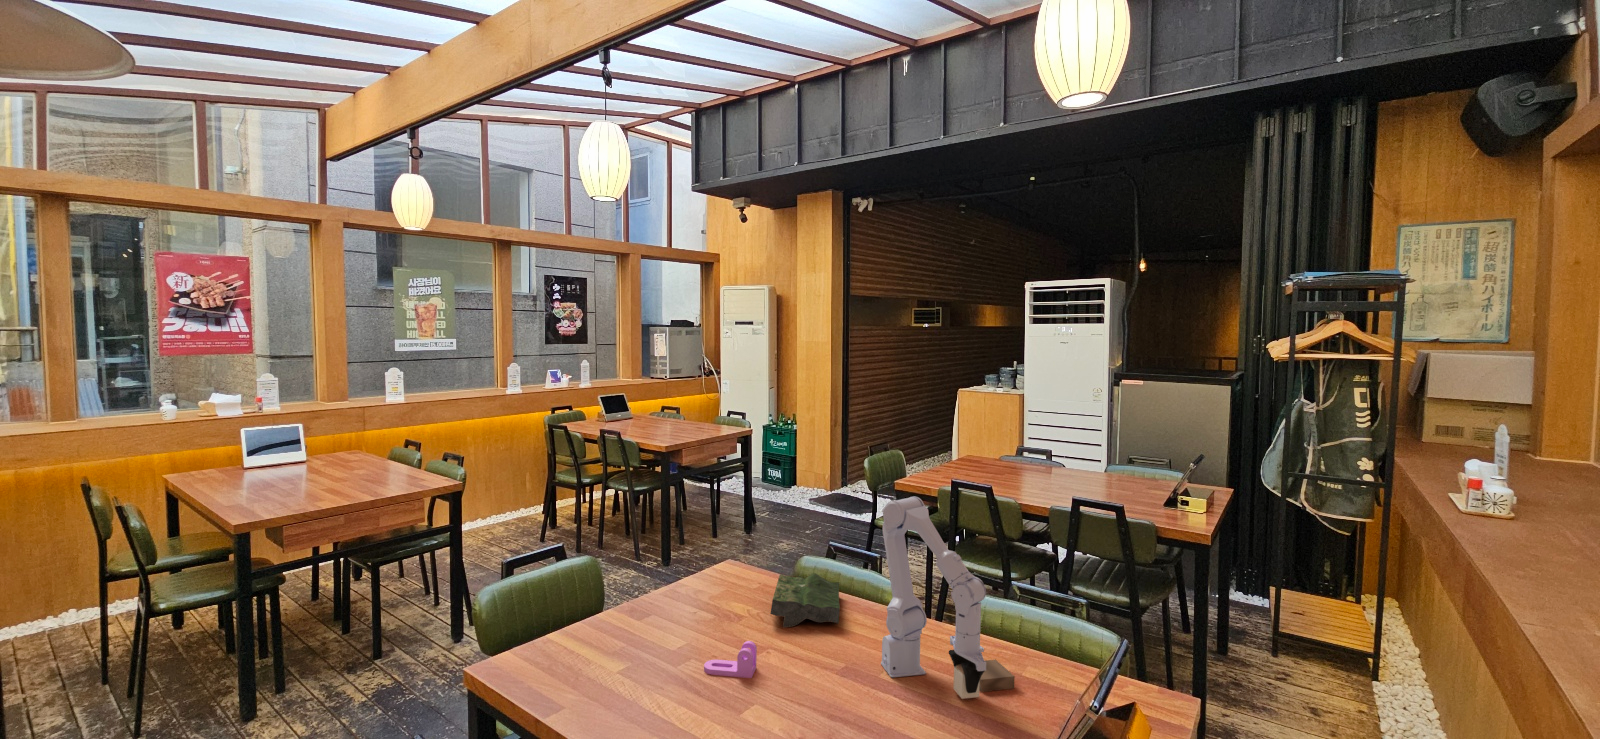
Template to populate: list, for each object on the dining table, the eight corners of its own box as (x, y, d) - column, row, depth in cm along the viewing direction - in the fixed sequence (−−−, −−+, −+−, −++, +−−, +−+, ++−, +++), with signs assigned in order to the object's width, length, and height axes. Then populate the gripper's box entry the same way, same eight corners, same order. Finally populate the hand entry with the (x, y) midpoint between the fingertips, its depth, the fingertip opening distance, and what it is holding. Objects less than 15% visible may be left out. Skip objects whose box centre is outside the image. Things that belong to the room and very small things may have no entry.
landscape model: (837, 634, 194) (841, 600, 194) (769, 625, 195) (772, 591, 195) (837, 606, 220) (840, 576, 220) (776, 598, 221) (779, 569, 221)
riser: (980, 691, 158) (980, 679, 158) (963, 674, 167) (963, 662, 167) (1014, 688, 160) (1014, 676, 160) (995, 671, 169) (995, 659, 169)
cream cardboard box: (962, 698, 153) (962, 672, 153) (953, 689, 158) (954, 664, 157) (979, 696, 154) (979, 671, 154) (970, 687, 159) (970, 662, 158)
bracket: (756, 668, 169) (756, 641, 169) (751, 678, 164) (752, 651, 163) (707, 664, 171) (707, 637, 171) (701, 674, 165) (701, 646, 165)
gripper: (998, 642, 149) (997, 700, 150) (968, 617, 163) (967, 670, 164) (970, 644, 148) (969, 704, 148) (942, 619, 162) (941, 673, 162)
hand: (966, 686), depth 156 cm, fingers closed on cream cardboard box, 4 cm apart
